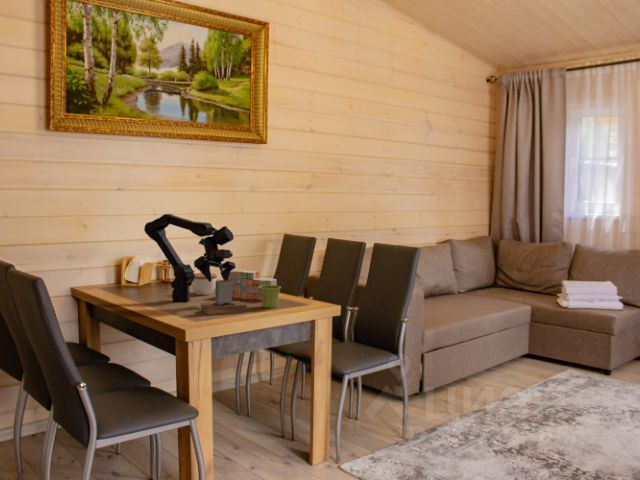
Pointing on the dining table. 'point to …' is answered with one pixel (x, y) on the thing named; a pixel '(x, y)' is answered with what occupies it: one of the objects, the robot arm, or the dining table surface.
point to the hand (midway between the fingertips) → (218, 282)
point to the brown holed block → (223, 308)
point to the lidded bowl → (203, 284)
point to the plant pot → (269, 295)
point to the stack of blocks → (248, 284)
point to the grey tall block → (223, 292)
